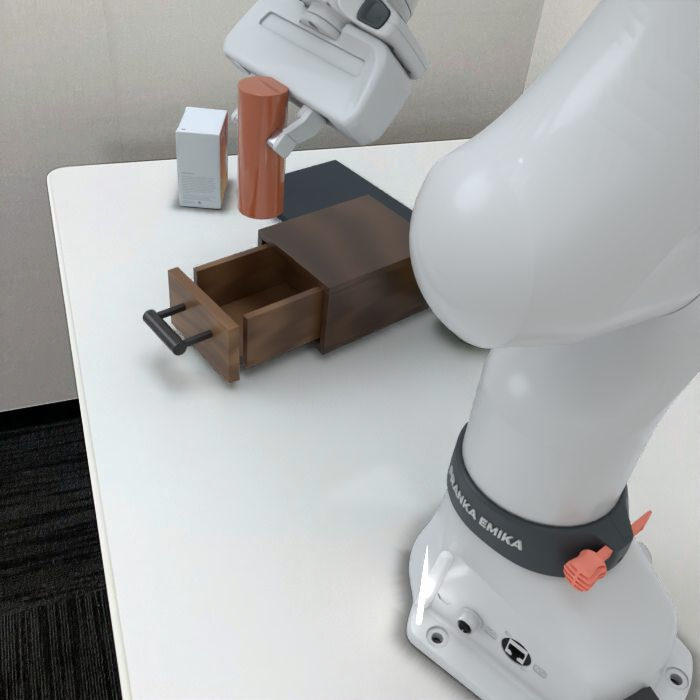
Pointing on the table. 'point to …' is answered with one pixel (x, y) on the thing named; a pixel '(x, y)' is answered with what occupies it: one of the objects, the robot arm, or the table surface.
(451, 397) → the table surface
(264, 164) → the orange cylinder
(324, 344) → the cabinet
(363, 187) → the mat
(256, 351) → the drawer
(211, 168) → the small box
